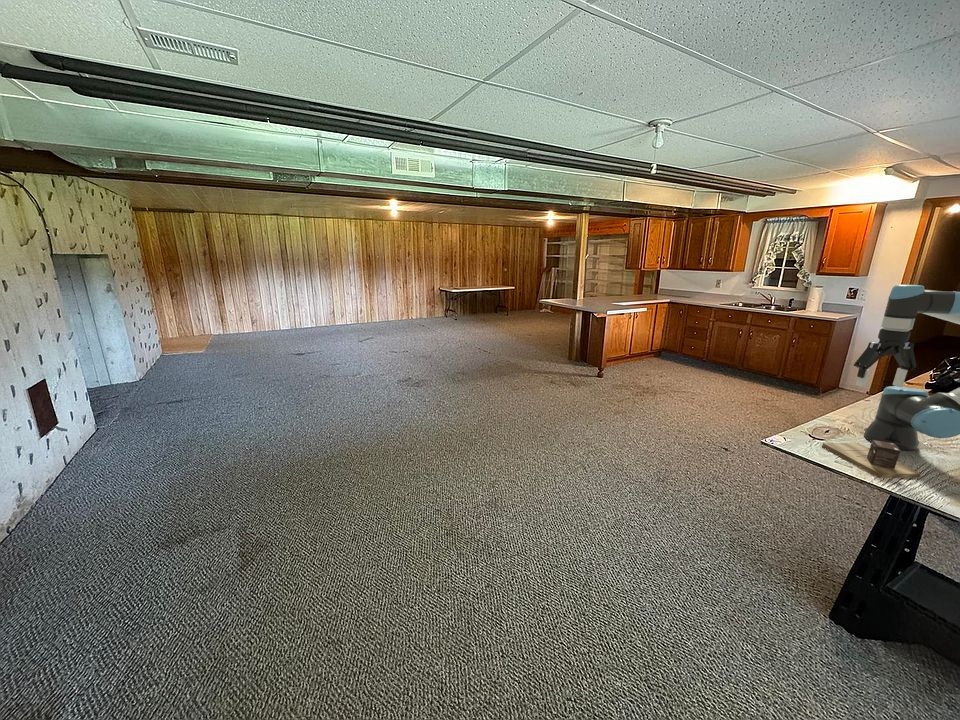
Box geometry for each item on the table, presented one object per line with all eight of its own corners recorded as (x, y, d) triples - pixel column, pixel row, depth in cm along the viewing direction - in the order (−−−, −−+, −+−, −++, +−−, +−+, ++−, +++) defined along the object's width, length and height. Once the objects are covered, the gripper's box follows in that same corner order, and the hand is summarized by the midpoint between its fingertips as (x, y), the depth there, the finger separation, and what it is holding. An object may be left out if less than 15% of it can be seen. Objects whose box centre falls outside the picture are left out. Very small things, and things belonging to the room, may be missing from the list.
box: (866, 457, 138) (871, 439, 136) (889, 462, 135) (895, 443, 133) (870, 464, 133) (876, 445, 131) (895, 469, 130) (901, 450, 128)
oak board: (857, 446, 149) (858, 442, 149) (919, 477, 128) (921, 473, 128) (821, 446, 149) (822, 442, 149) (878, 477, 128) (879, 473, 128)
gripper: (919, 327, 136) (901, 382, 142) (850, 327, 136) (835, 382, 142) (943, 331, 129) (924, 389, 135) (870, 331, 129) (854, 389, 135)
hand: (878, 386), depth 138 cm, fingers open, 13 cm apart
